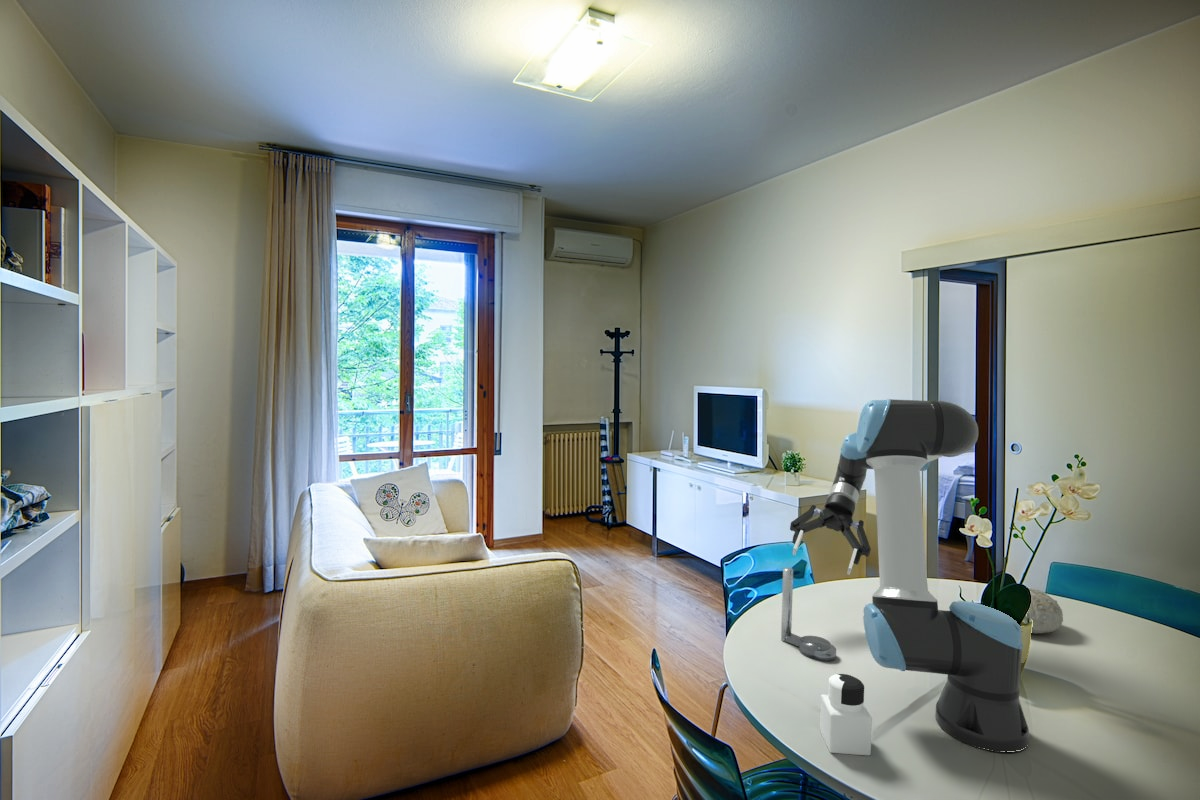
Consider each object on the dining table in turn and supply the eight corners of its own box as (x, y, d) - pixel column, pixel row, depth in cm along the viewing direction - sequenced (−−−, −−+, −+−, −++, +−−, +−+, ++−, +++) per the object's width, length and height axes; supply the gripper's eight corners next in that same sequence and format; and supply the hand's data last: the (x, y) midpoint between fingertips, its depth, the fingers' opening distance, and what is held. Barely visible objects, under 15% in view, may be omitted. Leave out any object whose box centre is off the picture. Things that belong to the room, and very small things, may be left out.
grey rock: (979, 627, 162) (980, 591, 161) (985, 607, 176) (986, 574, 176) (1062, 646, 151) (1064, 608, 151) (1061, 623, 165) (1063, 588, 165)
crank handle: (842, 656, 141) (844, 581, 140) (825, 664, 137) (828, 587, 136) (790, 634, 152) (792, 565, 151) (773, 642, 148) (775, 570, 147)
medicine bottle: (858, 732, 113) (860, 670, 113) (871, 756, 106) (873, 690, 106) (819, 729, 114) (821, 668, 114) (829, 753, 107) (831, 688, 106)
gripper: (886, 527, 163) (870, 588, 149) (794, 497, 174) (771, 552, 160) (892, 508, 158) (876, 571, 144) (797, 480, 169) (773, 535, 155)
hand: (821, 561), depth 152 cm, fingers open, 13 cm apart
